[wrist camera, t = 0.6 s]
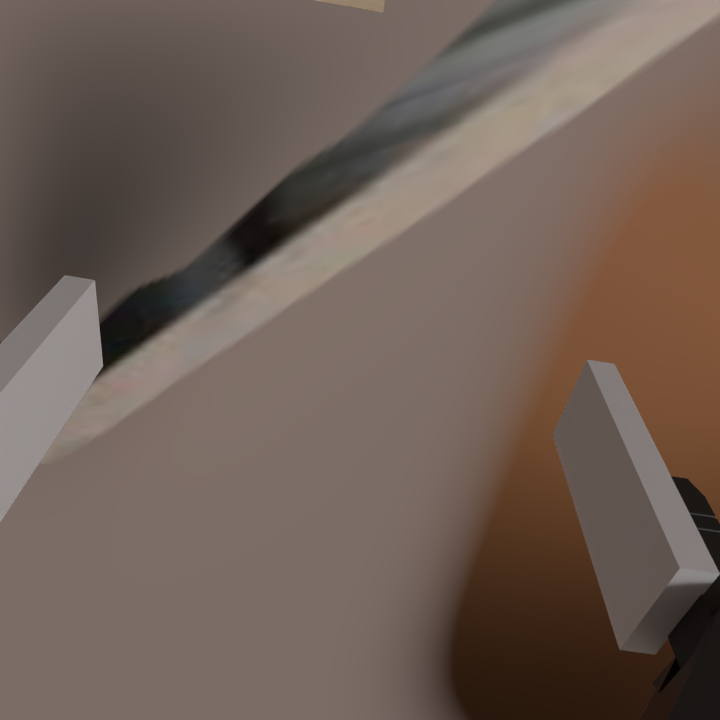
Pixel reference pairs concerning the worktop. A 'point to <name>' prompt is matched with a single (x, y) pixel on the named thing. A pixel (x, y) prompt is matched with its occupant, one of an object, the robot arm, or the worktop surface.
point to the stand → (359, 4)
